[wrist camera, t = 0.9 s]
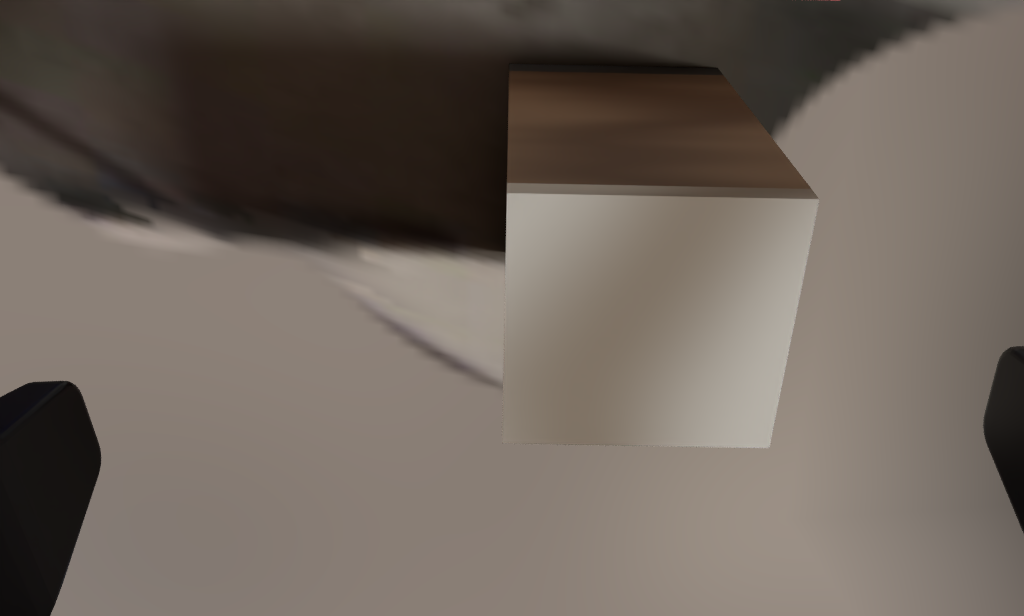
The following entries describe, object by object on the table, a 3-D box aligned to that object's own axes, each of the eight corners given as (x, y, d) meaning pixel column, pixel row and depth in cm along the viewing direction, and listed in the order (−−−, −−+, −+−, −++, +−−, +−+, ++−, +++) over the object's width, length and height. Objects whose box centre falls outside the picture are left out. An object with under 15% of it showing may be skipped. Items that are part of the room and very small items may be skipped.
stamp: (717, 68, 19) (818, 199, 13) (692, 256, 22) (769, 448, 15) (509, 63, 19) (507, 193, 13) (505, 252, 22) (501, 443, 15)
